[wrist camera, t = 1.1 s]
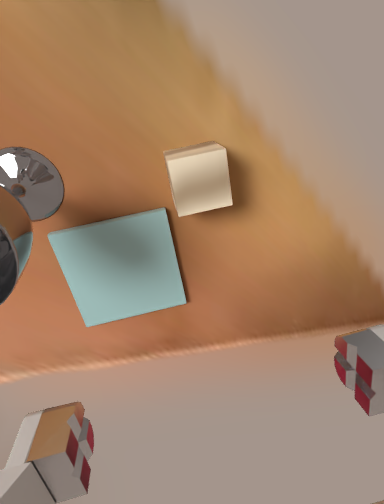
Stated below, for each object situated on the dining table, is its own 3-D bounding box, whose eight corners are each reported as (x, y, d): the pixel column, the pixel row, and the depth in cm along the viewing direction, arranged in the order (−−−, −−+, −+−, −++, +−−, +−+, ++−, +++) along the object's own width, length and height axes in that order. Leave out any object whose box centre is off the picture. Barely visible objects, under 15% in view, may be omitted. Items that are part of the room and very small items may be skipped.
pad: (49, 232, 32) (47, 235, 32) (164, 207, 33) (165, 209, 32) (87, 322, 38) (86, 327, 37) (185, 299, 39) (186, 303, 38)
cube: (162, 151, 31) (167, 161, 26) (213, 140, 31) (225, 148, 26) (173, 200, 33) (178, 217, 29) (219, 190, 33) (232, 204, 29)
